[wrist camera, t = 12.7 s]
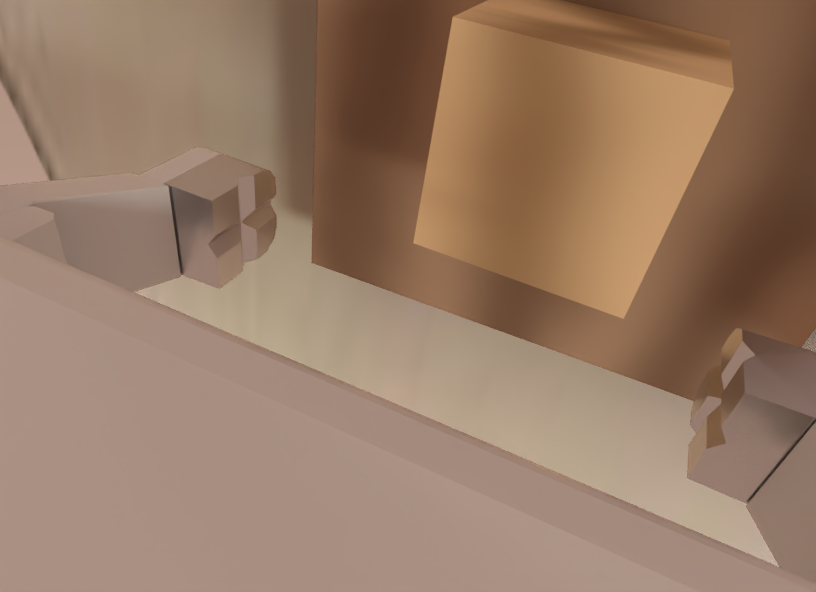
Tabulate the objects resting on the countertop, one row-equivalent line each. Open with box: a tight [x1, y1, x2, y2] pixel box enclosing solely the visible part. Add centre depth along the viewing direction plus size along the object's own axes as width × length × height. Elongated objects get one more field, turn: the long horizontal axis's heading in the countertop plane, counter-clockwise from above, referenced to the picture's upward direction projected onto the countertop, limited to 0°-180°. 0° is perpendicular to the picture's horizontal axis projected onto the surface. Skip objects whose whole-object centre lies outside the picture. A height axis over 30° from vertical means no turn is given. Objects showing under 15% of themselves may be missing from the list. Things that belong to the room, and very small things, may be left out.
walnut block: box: [312, 0, 816, 401], centre depth 19 cm, size 18×18×4 cm
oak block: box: [413, 0, 734, 319], centre depth 16 cm, size 6×6×5 cm
